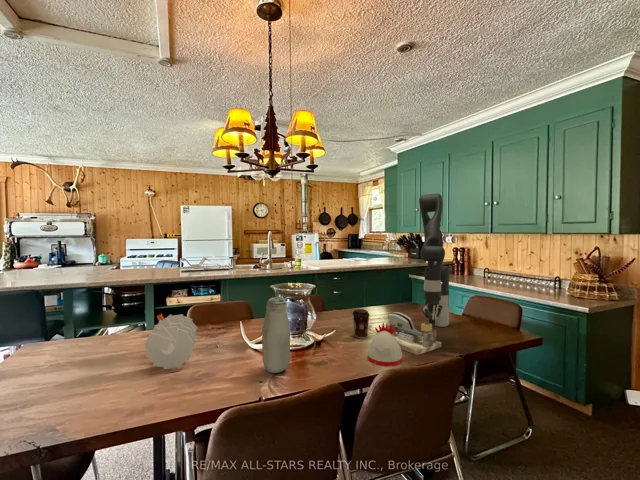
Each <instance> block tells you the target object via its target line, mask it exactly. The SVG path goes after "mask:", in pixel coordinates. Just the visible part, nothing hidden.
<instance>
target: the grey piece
mask: <svg viewBox="0 0 640 480" xmlns="http://www.w3.org/2000/svg"><path fill="white" fill-rule="evenodd" d="M387 318H388V325H389V326H391V324H394V325H396V326H397V323H398V322H399V323H402V326H403V327H406V328H409V329H413V330H416V331H418V330H417V328H415V326H414V323H413V321H412V318H411V317H409V316H408V315H406V314H404V313H402V312H398V311H395V312H391V313H389V314H388V315H387Z"/></svg>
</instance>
